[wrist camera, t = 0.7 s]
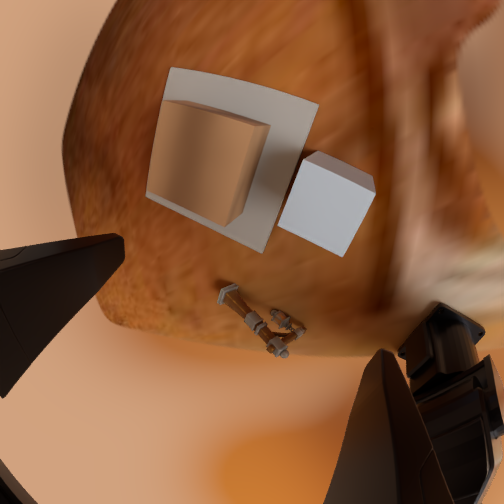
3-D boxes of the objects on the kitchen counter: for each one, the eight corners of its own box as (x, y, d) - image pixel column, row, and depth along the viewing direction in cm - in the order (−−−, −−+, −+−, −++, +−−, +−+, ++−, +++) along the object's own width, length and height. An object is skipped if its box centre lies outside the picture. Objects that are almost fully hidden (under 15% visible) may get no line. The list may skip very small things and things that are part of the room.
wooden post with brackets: (308, 343, 24) (276, 367, 21) (250, 288, 28) (215, 303, 25) (317, 331, 23) (284, 355, 20) (255, 275, 27) (219, 289, 24)
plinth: (271, 125, 17) (254, 126, 15) (242, 213, 21) (224, 227, 18) (187, 100, 18) (162, 100, 16) (170, 180, 22) (146, 190, 20)
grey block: (372, 176, 17) (375, 193, 12) (348, 225, 19) (342, 257, 15) (318, 150, 17) (303, 159, 13) (297, 201, 19) (277, 225, 15)
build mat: (319, 104, 16) (318, 104, 15) (263, 251, 22) (261, 253, 22) (173, 67, 18) (170, 66, 17) (148, 195, 24) (145, 196, 24)
